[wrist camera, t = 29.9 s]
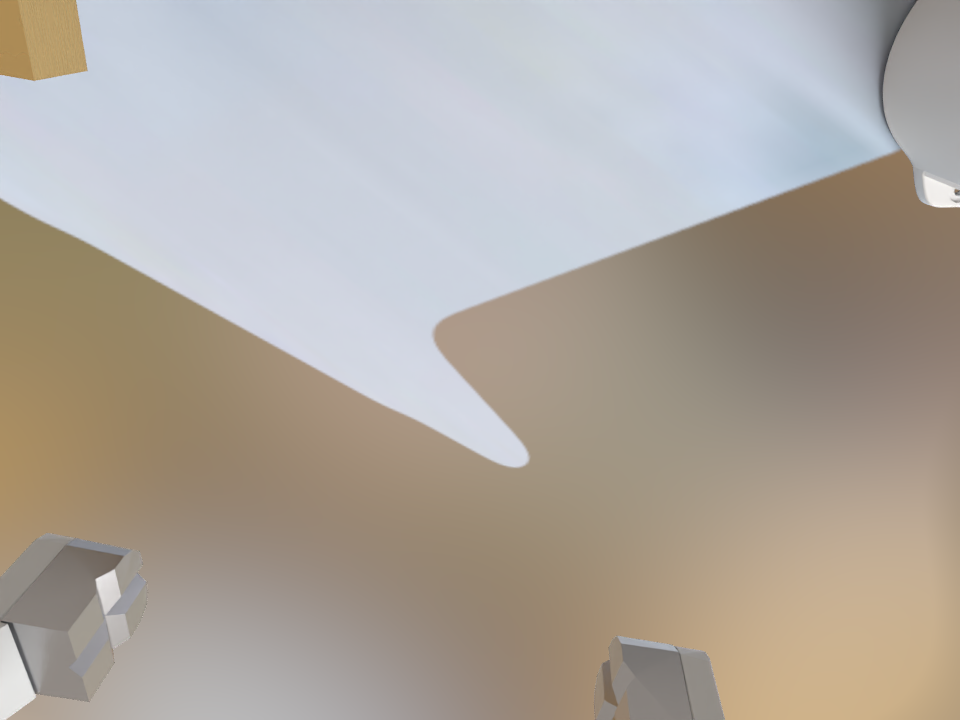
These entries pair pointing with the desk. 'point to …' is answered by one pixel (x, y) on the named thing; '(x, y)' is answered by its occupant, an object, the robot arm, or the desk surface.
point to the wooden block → (40, 39)
